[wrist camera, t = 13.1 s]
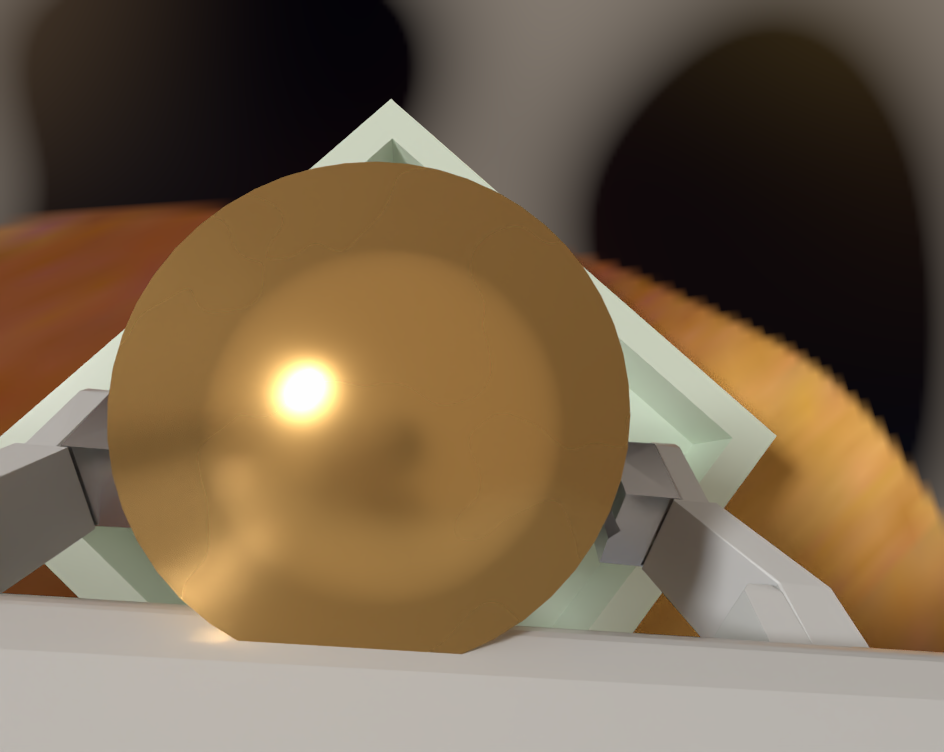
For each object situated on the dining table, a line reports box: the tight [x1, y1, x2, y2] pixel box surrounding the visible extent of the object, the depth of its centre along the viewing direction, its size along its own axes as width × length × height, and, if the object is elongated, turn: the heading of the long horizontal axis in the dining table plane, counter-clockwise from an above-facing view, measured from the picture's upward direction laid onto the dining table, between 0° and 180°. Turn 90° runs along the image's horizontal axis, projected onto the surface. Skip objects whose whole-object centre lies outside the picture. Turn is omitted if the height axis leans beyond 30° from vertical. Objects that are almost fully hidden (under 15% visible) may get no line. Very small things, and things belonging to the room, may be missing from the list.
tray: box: [0, 99, 776, 633], centre depth 17 cm, size 16×16×3 cm
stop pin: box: [107, 162, 630, 654], centre depth 12 cm, size 6×6×12 cm
